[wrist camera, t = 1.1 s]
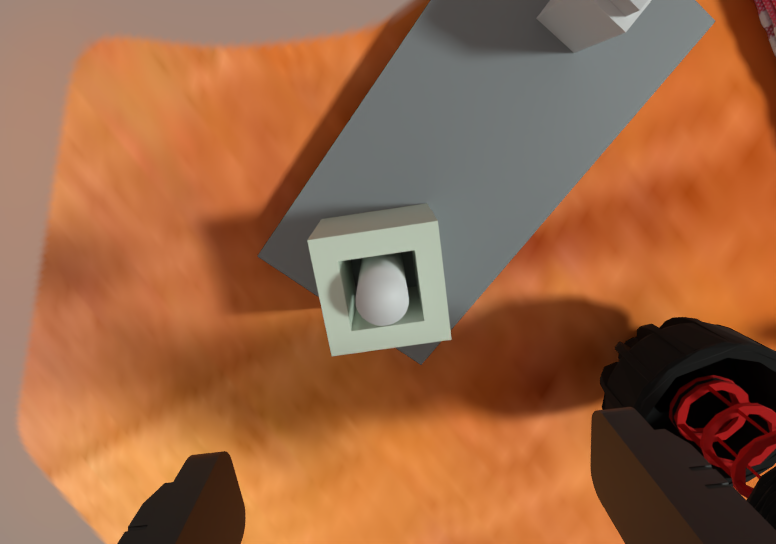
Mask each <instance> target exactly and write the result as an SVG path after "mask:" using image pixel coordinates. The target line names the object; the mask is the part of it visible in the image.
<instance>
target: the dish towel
mask: <svg viewBox="0 0 776 544" xmlns="http://www.w3.org/2000/svg"><path fill="white" fill-rule="evenodd" d="M753 1H754V3H755V5H756V7H757V9H758V15H759V18H760V21H761V24H762V26H763V28H764V29H765V30H766V32H767V35H768V38H769V42H770V44H771V47H772V50H773V53H774V55H775V56H776V0H753Z"/></svg>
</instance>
